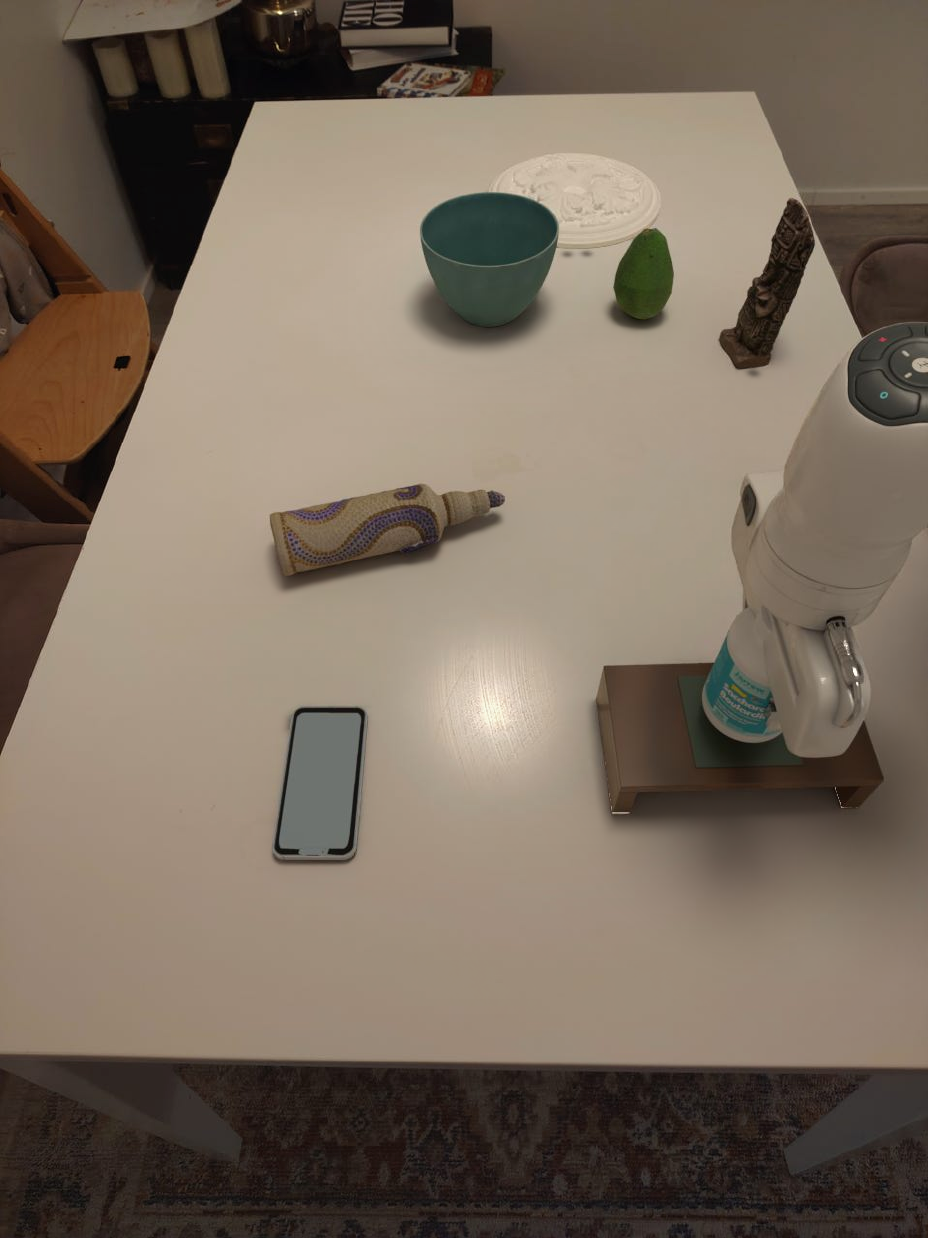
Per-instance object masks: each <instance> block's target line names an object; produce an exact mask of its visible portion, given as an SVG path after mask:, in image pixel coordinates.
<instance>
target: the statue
mask: <svg viewBox="0 0 928 1238" xmlns="http://www.w3.org/2000/svg"><path fill="white" fill-rule="evenodd" d="M813 230H814V229H813V227H812V224H811V221H810V218H809V213H808V211H807V210H806V208H805V207H804V206H803V205H802V203H801V202H800V201H799V200H797V199H796V198H794V197H790V198H788V200H786V206H785V207H784V209H783V212H782V214H781V217H780V219H779V222H778V223H777V226H776V228H775V232H774V234H773V235H772V237H771V239H770V241H771V246H770V253H769V256H768V260H767V262H766V264H765V266H764V267H763V270H762V273H761V274H760V275H759V276H756V277H753V279H752V280H751V285H750V286H749V288H748V289H747V292H746V294H747V295H746V298H745V300H744V303H743V304H742V306H741V309H740V310H739V312H738V314H737V320H736V324H735V326H733V327H731V328H724V329H722V330H721V332H720V334H719V337H718V338H719V341H720V344H721V347H722V349H724V350H725V352H726V353H727V355H728V356H729V357H730V358H731V360H732V362H733V364H734V366H735V367H736V368H738V369H739V368H740V369H744V368H755V367H756V368H757V367H763V366H766V365H769V363H770V362H771V359H772V354H771V353H772V351H773V350H774V344H775V342H776V339H777V338H778V335H779V333H780V330H781V328H782V326H783V324H784V321H785V319H786V317H787V315H788V313H789V312H790V309H791V307H792V304H793V302H794V300H795V298H796V296H797V294H798V290H799V288H800V286H801V284H802V279H803V277H804V275H805V271H806V268H807V264H808V263H809V260H810V258H811V256H812V254H813V252H814V249H815V246H816V239H815V235H814V231H813Z"/></svg>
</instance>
